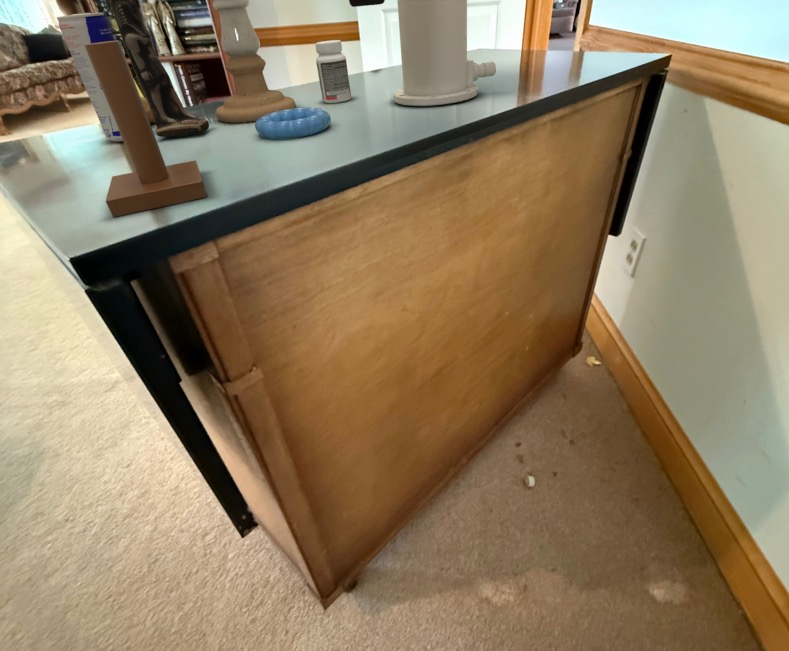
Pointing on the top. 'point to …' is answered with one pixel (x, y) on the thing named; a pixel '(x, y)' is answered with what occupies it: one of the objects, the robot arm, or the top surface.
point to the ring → (292, 123)
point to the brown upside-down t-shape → (139, 142)
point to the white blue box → (76, 36)
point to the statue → (153, 75)
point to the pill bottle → (332, 72)
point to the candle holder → (245, 68)
